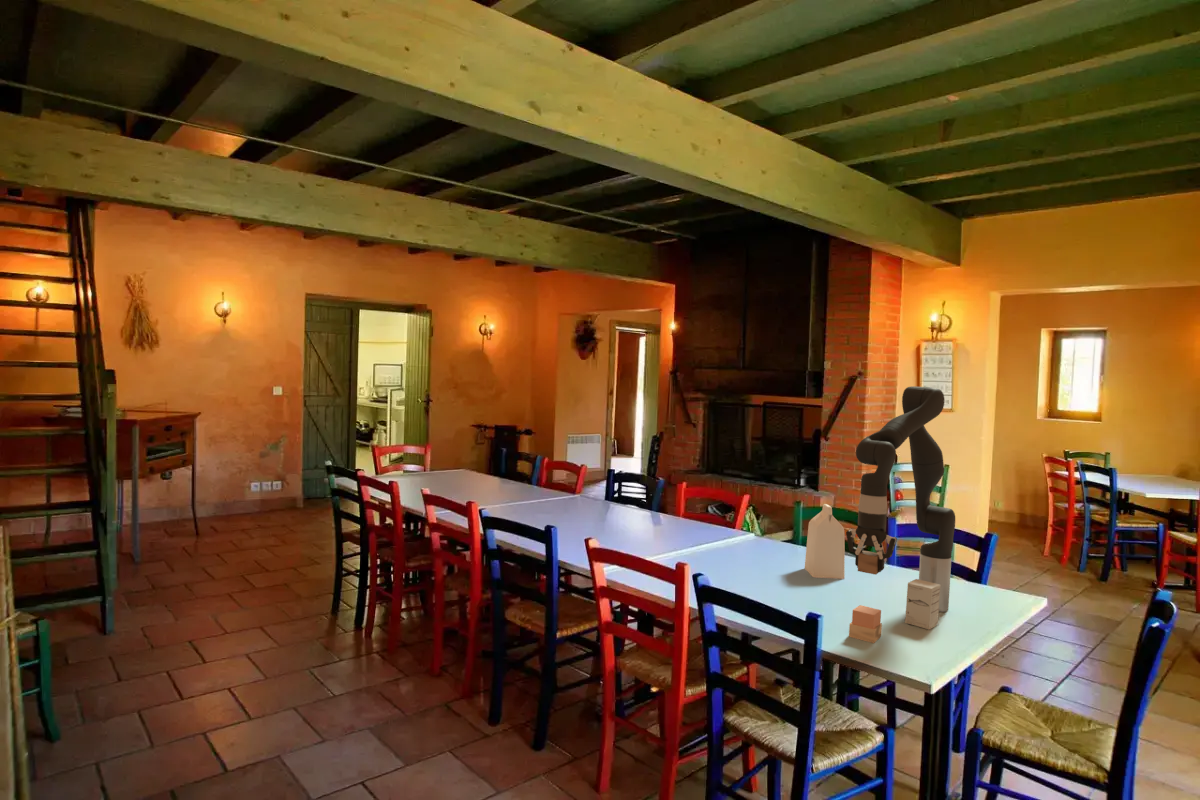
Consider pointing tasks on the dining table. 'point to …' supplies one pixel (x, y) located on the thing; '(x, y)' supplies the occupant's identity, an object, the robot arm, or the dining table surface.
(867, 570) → the walnut cube
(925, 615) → the supplement box
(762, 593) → the dining table surface
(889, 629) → the dining table surface
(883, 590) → the dining table surface
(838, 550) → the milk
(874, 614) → the tower
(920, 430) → the robot arm
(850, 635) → the tower base
